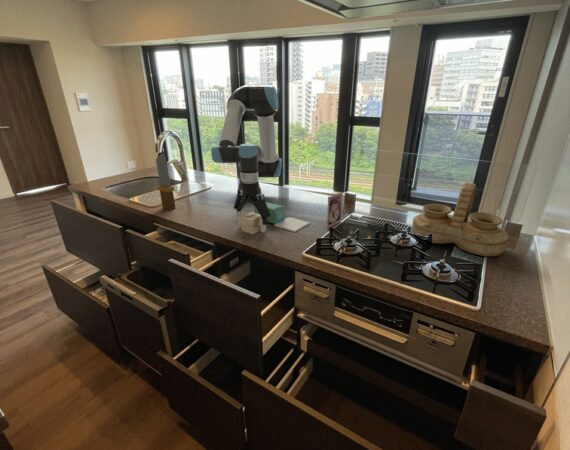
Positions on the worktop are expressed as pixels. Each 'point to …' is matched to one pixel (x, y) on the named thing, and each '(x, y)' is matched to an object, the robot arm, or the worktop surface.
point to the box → (274, 213)
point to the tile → (292, 224)
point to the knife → (165, 183)
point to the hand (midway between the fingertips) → (252, 227)
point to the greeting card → (334, 209)
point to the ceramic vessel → (462, 226)
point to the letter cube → (251, 223)
